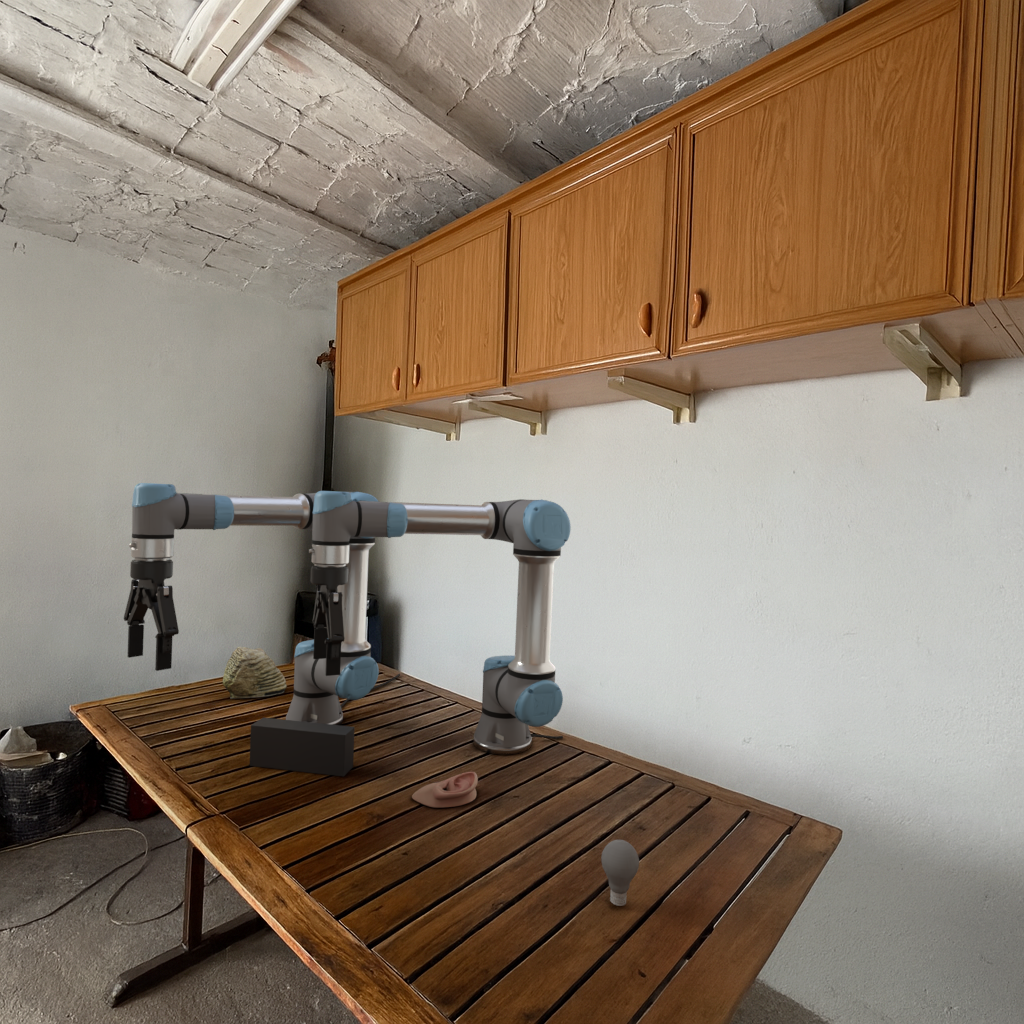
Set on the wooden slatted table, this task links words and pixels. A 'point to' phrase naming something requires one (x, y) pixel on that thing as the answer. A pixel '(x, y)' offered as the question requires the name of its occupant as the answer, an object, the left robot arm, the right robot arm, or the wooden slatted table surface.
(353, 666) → the left robot arm
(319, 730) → the bar
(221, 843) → the wooden slatted table surface
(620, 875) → the light bulb
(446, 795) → the anatomical model
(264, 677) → the fossil
